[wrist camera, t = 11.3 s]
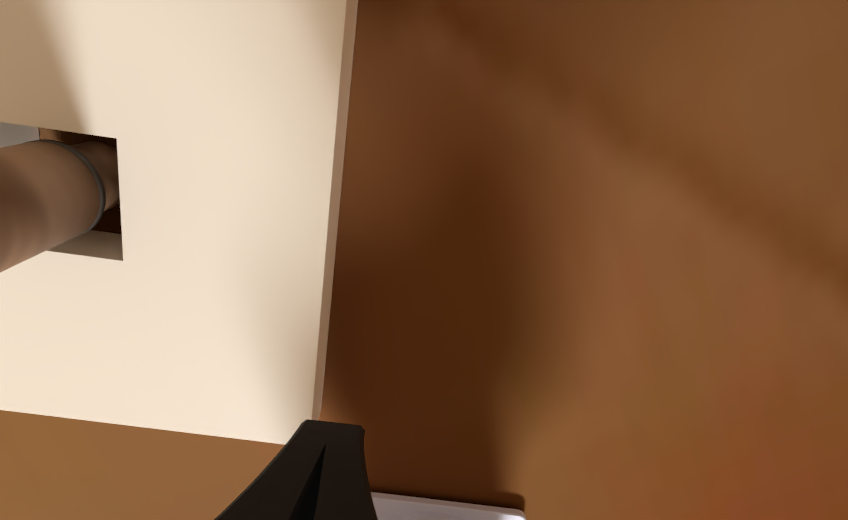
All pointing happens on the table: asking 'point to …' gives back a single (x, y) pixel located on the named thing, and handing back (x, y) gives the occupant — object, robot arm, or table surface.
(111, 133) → the cream board
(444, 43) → the table surface
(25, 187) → the walnut peg
